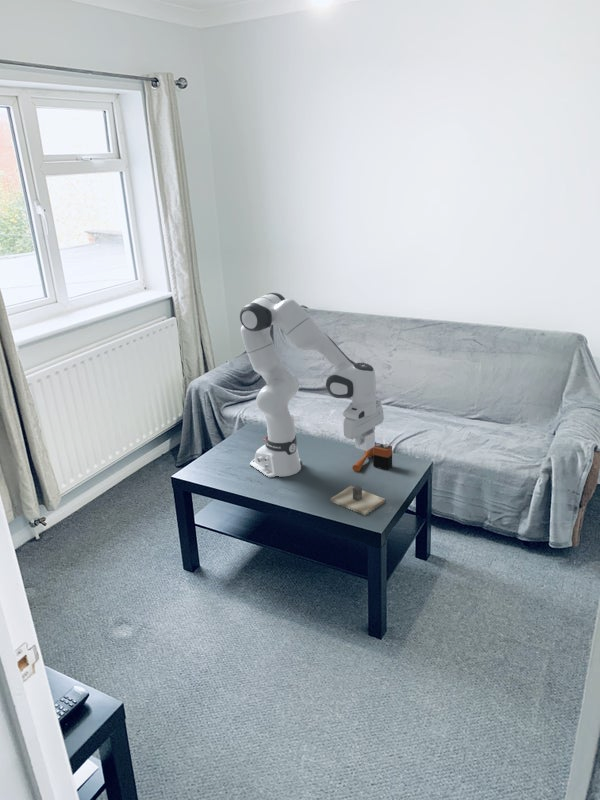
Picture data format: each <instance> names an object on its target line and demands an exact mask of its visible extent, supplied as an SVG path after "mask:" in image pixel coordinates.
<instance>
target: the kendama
mask: <svg viewBox="0 0 600 800" xmlns="http://www.w3.org/2000/svg"><path fill="white" fill-rule="evenodd" d="M376 444H377V442H376V441H375V445H376ZM369 457H373V448H371V449H369V450H368V451H364V455H363V457H362V458H361V457H360V459H359V460H358V461H357V462H356V463H355V464H353V465H352V470H353V471H354V472H358V473H360V471H361V469H362V467H363V466H364V463H365V461H366V460H367V458H369Z"/></svg>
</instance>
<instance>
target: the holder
mask: <svg viewBox="0 0 600 800" xmlns="http://www.w3.org/2000/svg"><path fill="white" fill-rule="evenodd" d="M329 502H331V503H334V504H336V505H338V506H340V505H341V507H343V508H345V507H346V508H345V509H348V510H350V509H351V511H352V510H353V512H355V511H356V512H355V513H357V512H358V513H357V514H360V513H361V515H362V514H363V515H362V516H364V515H365V516H367V515H368V514H370V513H372V512H373V511H374V510H376V509H377V508H378V507H380V506H381V505H383V504H384V503H386V499H385V498H384V497H381V496H378V495H376V494H373V493H371V492H368V491H365V490H363V487H361V486H359V485H355V486H352V485H349V486H348V487H346V488H345V489H344V490H342V491H340V492H338V493H337V494H336V495H334V496H332V497H331V498H330V501H329ZM375 508H376V509H375ZM372 510H373V511H372ZM369 512H370V513H369ZM366 514H367V515H366Z"/></svg>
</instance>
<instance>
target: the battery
mask: <svg viewBox="0 0 600 800" xmlns="http://www.w3.org/2000/svg"><path fill="white" fill-rule="evenodd" d="M376 443H377V442H376ZM372 463H373V465H372V466H373V468H378V469H381V468H382V469H383V470H386V471H388V470H390V469H391V468H392V466H393V446H392V445H389V443H384V444H383V443H381V442H378V443H377V444H376V445H375V446H374V447H373V456H372Z"/></svg>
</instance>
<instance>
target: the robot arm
mask: <svg viewBox="0 0 600 800" xmlns="http://www.w3.org/2000/svg"><path fill="white" fill-rule="evenodd" d="M239 320H240V323H241V327H240V335H241V339H242V342H243V343H242V344H243V346H244V349H245V351H246V354H247V356H248V359H249V361H250V364H251V367H252V369H253V370H254V373H255V372H256V373H257V374H259V375H260V376H261V377H262V378H263V379H264V382H265V383H266V384H265V385H264V386H263V387H262V388H261V389H260V390H259V392H258V394H257V395H256V398H255V399H256V400H255V402H256V403H255V404H256V406H257V408H258V409H259V411H260V412H262V413H263V415H264V418H265V423H266V430H267V436H266V437H264V438H263V441H265V444H263V445H262V446H261V447H259V448H258V449H257V450H256V451H255V455H254V458H253V459H252V460H251V461H250V463H249V466H250V465H251V466H253V467H254V468H256V469H257V470H259V471H260V472H262V473H263V474H264V475H263V474H262V473H261V474H262V475H263V476H265V475H266V476H268V477H267V478H274V477H275V476H279V477H280V478H281V477H290V476H293V475H296V474H298V473H299V472H300V471H301V469H302V465H301V458H300V456H299V450H298V438H297V435H296V427H295V419H294V418H295V417H294V416H293V415H291V413H290V411H289V409H290V408H289V404H290V403H289V402H290V401H292V400H293V399H294V398H295V397H296V396H297V393H298V392H299V388H300V382H299V378H298V377H297V376H296V375H295V374H293V373H291V372H290V371H289V370H288V369H287V367H286V366H285V365H284V363H283V362H282V360H281V356H280V354H279V352H278V349H277V348H276V345H275V342H274V341H273V338H272V336H271V333H270V327H271V326H272V325H273V326H274V325H275V326H277V327H278V328H280V329H281V331H282V332H283V334H284V335H285V337H286V338H287V339H288V340H289V342H290V343H291V344H292V345H293V346H295V348H297V349H298V350H303V351H304V350H305V351H315V352H318V353H320V354H322V355H323V357H324V358H325V359H326V360H327V361H328V362H329V363H330V364H331V365H332V366H333V368H334V369H335V371H333V373H331V375H329V376H328V377H327V379H326V382H325V388H326V390H327V392H328V394H329V395H330V396H331V397H333V398H336V399H348V398H351V402H350V403H349V405H348V406H347V407H345V409H344V410H343V412H342V415H343V416H342V417H344V419H343V425H342V426H343V427H342V428H343V436H344V437H345V438H346V439H349V440H355V439H356V444H357V445H361V444H362V440H361V439H360V437H361V434H363V433H365V432H367V431H368V430H371V431H374V432H375V430H376V427H377V426H379V425H381V424H382V423H383V422H384V419H385V418H384V416H385V415H384V408H383V406H382V401H381V400H379V399H377V397H376V396H377V395H376V390H377V380H376V373H375V369H374V368H373V366H372V365H370V364H368V363H366V362H355V361H353V360H351V359H350V358H349V357H348V356H347V354H345V353H344V351H343V350H342V349H341V348H340V347H339V346H338V345H337V344H336V342H335V341H333V339H332V338H331V337H330V336H329V335H327V334H326V333H325V332H324V331H323V330H322V329H320V327H319V326H318V325H317V324H316V323H315V322H314V320H313V319H312V318H311V317H310V315H309V314H308V312H306V311H305V309H303V307H302V306H301V305H300V304H299V303H298V302H296V300H294V299H293V298H285V297H284V296H283V295H282V294H280V293H278V292H269V293H266V294H265V295H261V296H258V297H257V298H255V299H254V300H253V301H251V302H249V303H247V304H246V305H244V306H243V308H242V309H241V311H240V313H239ZM253 461H254V462H253ZM251 466H250V467H251ZM253 467H252V468H253ZM254 468H253V469H254ZM256 469H255V470H256ZM257 470H256V471H257ZM259 471H258V472H259ZM260 472H259V473H260ZM266 476H265V477H266ZM275 478H276V477H275Z"/></svg>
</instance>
